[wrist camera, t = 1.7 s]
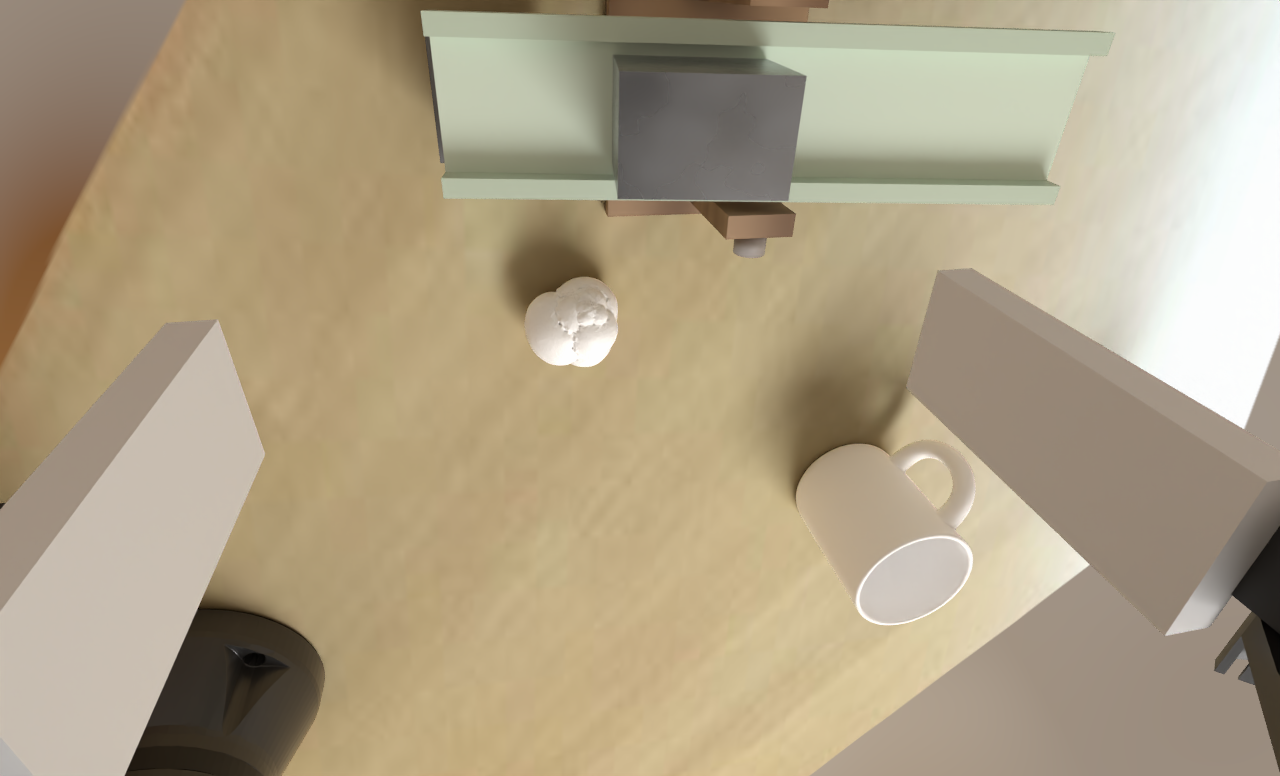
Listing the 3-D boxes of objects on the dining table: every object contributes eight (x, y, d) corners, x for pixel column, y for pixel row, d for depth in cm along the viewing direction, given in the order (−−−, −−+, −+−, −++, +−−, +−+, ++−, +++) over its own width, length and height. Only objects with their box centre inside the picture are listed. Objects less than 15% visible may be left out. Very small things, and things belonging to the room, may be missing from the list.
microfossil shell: (610, 293, 34) (511, 327, 35) (640, 372, 37) (548, 403, 38) (602, 257, 38) (512, 288, 38) (630, 332, 41) (546, 361, 41)
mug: (887, 385, 48) (979, 475, 39) (946, 436, 52) (1041, 527, 43) (771, 496, 51) (831, 601, 42) (835, 536, 55) (902, 639, 46)
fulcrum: (605, 212, 37) (644, 281, 28) (606, -74, 30) (658, -94, 22) (774, 206, 39) (857, 269, 30) (812, -63, 32) (932, -77, 23)
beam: (458, 158, 33) (430, 198, 27) (442, 4, 29) (406, 10, 23) (973, 166, 35) (1053, 205, 29) (1014, 23, 31) (1115, 33, 25)
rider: (612, 161, 27) (617, 199, 23) (612, 54, 25) (619, 71, 21) (754, 164, 28) (788, 200, 23) (766, 58, 26) (807, 75, 21)
